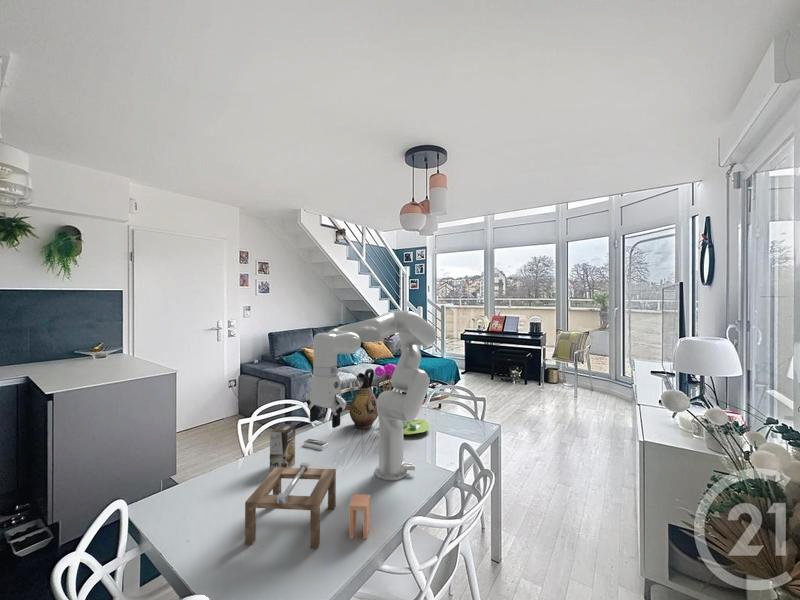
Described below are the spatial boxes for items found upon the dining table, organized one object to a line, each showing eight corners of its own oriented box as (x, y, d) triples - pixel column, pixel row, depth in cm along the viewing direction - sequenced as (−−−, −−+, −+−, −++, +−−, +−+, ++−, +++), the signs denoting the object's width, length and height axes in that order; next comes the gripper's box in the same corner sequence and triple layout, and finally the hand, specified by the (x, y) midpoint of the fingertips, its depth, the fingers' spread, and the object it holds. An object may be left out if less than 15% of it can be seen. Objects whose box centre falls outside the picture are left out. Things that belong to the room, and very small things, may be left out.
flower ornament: (362, 433, 180) (358, 365, 180) (392, 415, 205) (389, 354, 204) (414, 443, 165) (410, 369, 164) (439, 422, 189) (436, 357, 188)
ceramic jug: (367, 433, 177) (367, 373, 177) (343, 427, 186) (343, 370, 186) (386, 423, 192) (386, 367, 192) (363, 418, 200) (363, 365, 200)
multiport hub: (322, 451, 157) (322, 446, 157) (302, 446, 161) (302, 441, 161) (328, 447, 161) (328, 442, 161) (309, 443, 165) (309, 438, 165)
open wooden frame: (335, 506, 115) (335, 469, 115) (317, 549, 95) (317, 504, 95) (275, 503, 116) (275, 467, 116) (245, 546, 96) (245, 502, 96)
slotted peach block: (369, 525, 105) (370, 494, 105) (366, 539, 99) (367, 506, 99) (353, 524, 105) (353, 493, 105) (349, 538, 99) (349, 505, 99)
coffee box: (284, 474, 135) (284, 432, 135) (269, 472, 136) (269, 431, 136) (296, 463, 144) (296, 424, 144) (281, 462, 145) (281, 423, 145)
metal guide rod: (309, 468, 115) (309, 462, 115) (285, 503, 95) (285, 496, 95) (301, 468, 115) (301, 462, 115) (276, 503, 95) (276, 496, 95)
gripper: (353, 372, 114) (352, 425, 114) (314, 366, 123) (314, 415, 123) (337, 376, 108) (337, 432, 108) (297, 370, 117) (297, 422, 117)
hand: (324, 423), depth 115 cm, fingers open, 9 cm apart
